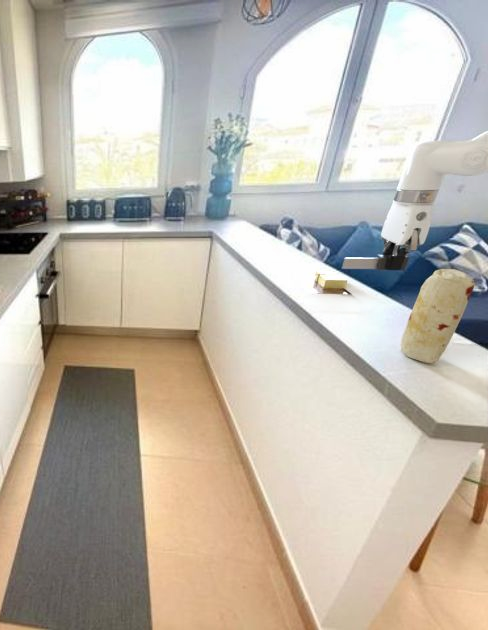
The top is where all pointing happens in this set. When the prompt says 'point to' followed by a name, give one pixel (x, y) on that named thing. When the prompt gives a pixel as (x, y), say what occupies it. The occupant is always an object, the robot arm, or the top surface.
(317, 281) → the butter slice
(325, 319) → the top surface
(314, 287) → the board
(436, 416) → the top surface
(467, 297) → the food model
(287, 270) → the top surface
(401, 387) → the top surface
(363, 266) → the knife
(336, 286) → the butter block
